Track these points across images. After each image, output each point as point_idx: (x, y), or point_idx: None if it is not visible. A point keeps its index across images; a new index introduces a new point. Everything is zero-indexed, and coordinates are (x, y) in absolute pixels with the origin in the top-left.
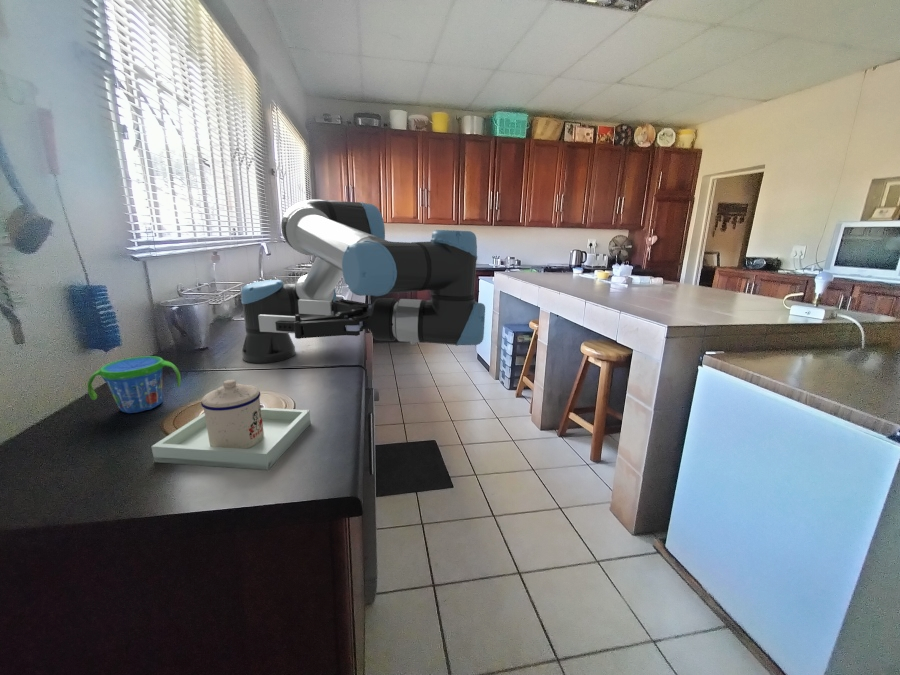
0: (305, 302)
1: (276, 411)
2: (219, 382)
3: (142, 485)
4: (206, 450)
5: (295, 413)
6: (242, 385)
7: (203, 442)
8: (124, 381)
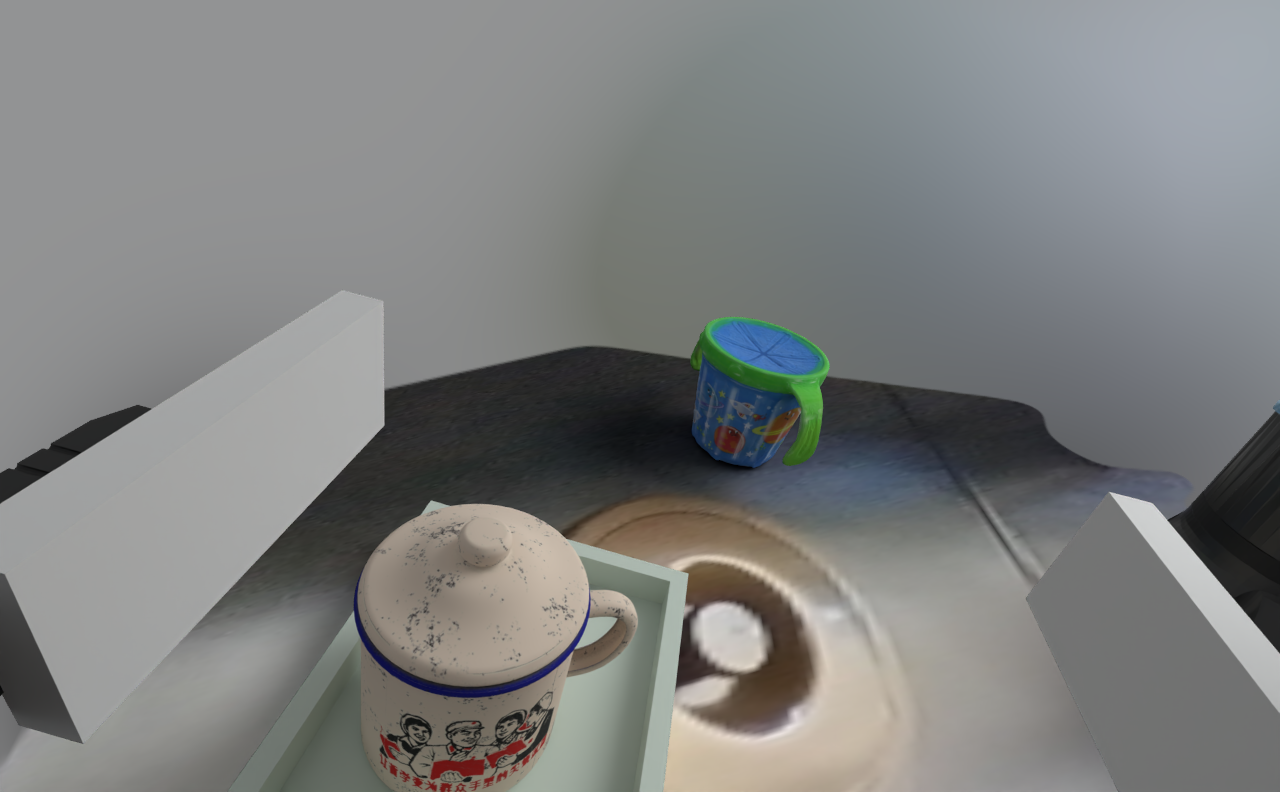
0: (1140, 573)
1: None
2: (915, 546)
3: (309, 547)
4: (341, 632)
5: None
6: (499, 592)
7: None
8: (706, 364)
